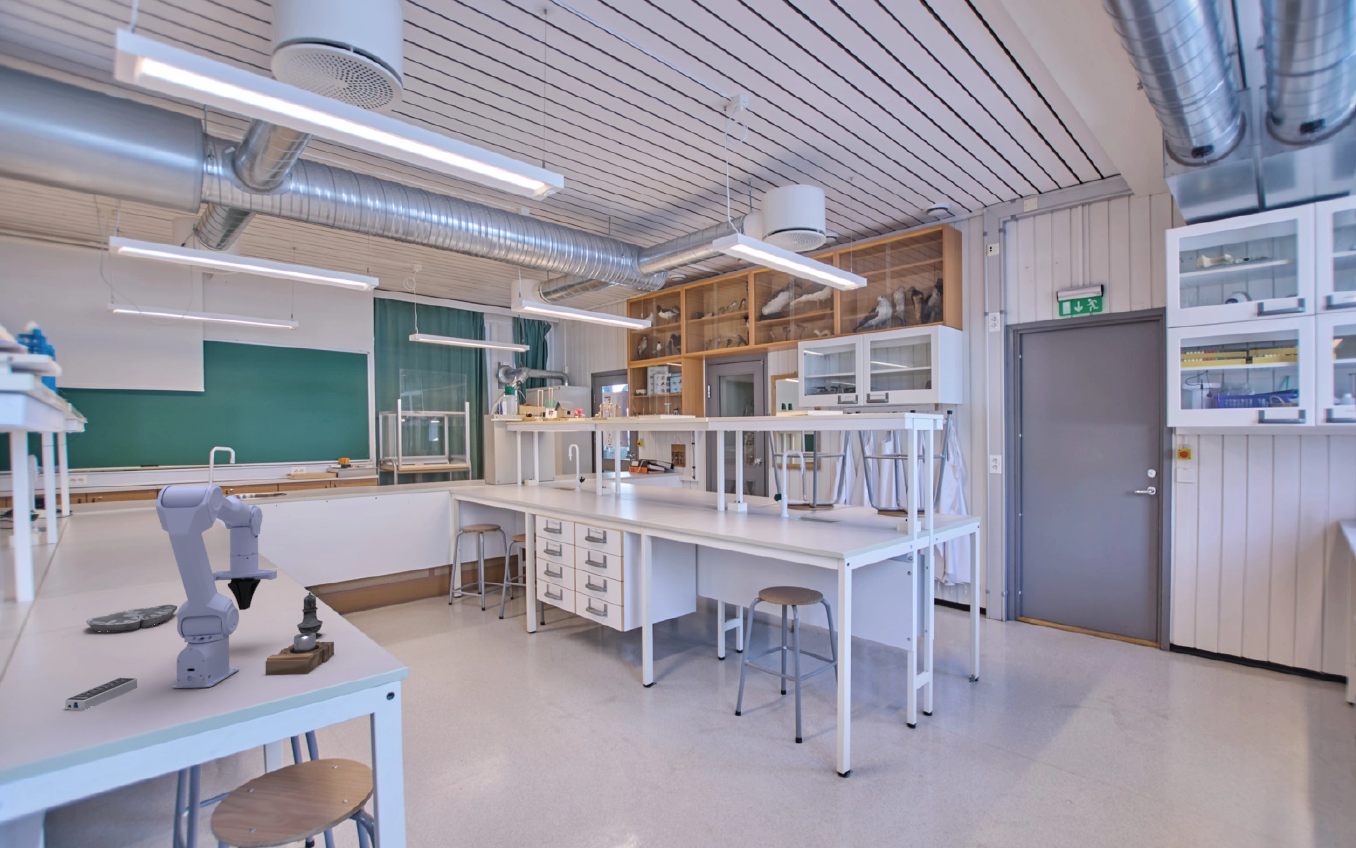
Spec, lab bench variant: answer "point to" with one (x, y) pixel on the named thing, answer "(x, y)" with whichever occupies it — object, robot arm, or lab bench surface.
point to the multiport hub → (101, 694)
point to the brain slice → (132, 618)
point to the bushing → (304, 643)
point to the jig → (298, 659)
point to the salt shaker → (310, 617)
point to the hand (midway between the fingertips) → (244, 608)
